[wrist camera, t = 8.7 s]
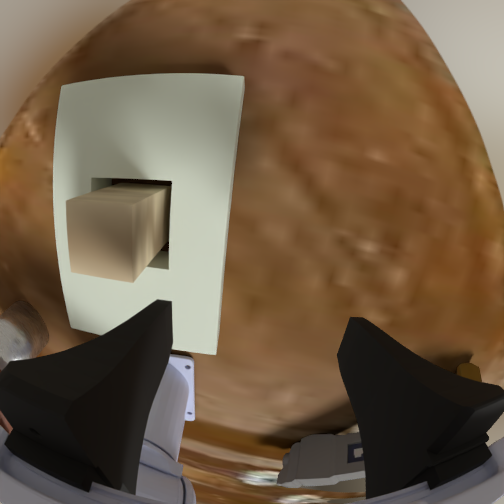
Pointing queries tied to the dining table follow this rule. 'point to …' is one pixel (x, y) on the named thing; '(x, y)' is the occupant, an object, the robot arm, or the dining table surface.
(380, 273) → the dining table surface
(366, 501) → the robot arm
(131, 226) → the square peg
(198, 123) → the socket plate
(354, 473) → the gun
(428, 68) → the dining table surface
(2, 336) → the round peg
